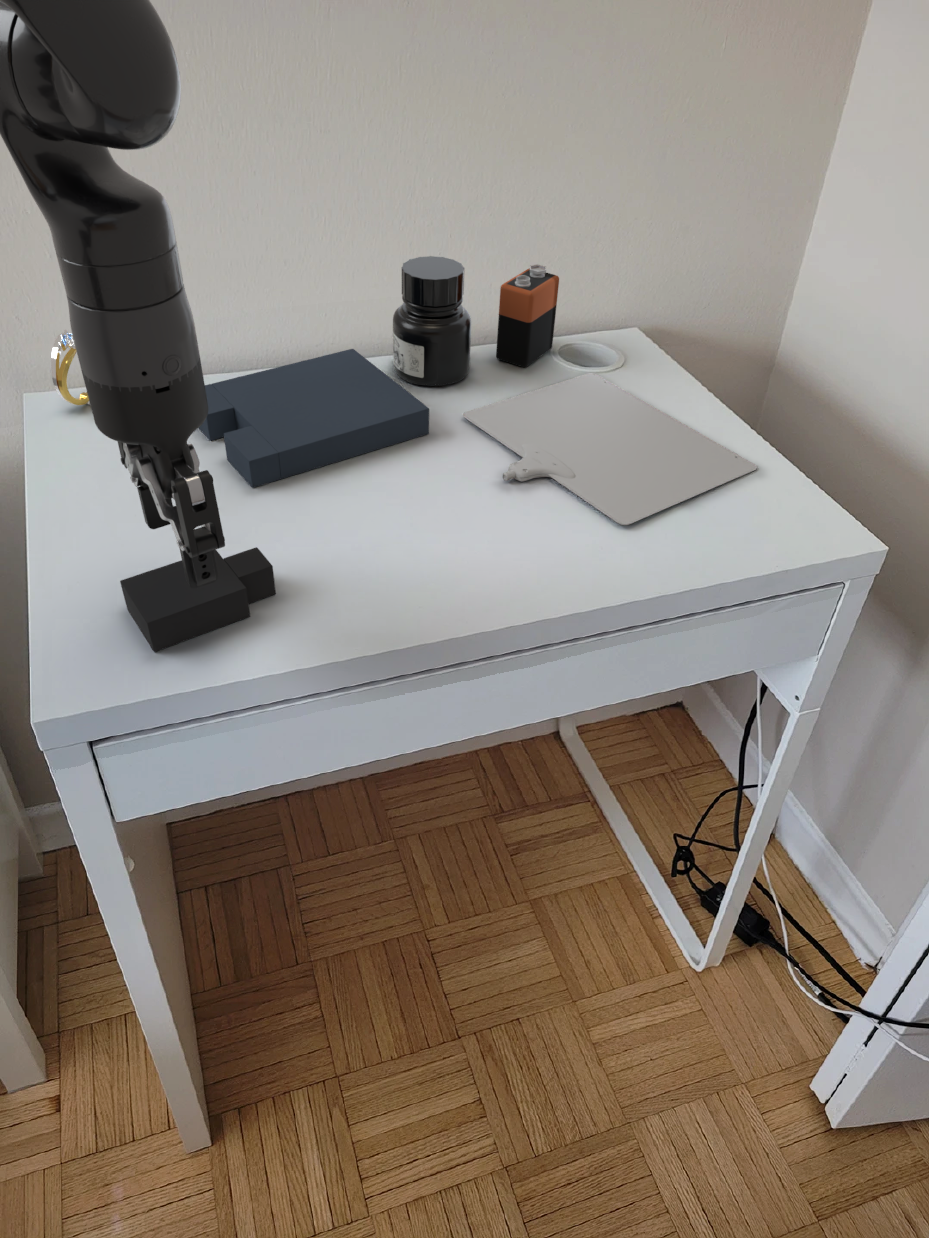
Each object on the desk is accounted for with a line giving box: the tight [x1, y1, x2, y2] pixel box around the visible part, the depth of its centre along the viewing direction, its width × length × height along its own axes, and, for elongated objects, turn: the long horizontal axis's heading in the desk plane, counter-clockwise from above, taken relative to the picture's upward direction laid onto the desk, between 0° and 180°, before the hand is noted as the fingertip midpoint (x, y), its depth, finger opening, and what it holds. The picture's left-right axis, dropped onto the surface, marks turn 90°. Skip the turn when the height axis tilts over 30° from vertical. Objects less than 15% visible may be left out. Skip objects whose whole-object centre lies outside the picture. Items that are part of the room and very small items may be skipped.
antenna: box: [462, 372, 758, 526], centre depth 98 cm, size 25×24×1 cm
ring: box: [50, 329, 90, 406], centre depth 99 cm, size 7×3×8 cm, turn 156°
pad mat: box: [198, 348, 430, 489], centre depth 99 cm, size 20×16×3 cm
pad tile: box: [119, 546, 277, 653], centre depth 76 cm, size 11×6×3 cm, turn 124°
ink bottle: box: [392, 255, 473, 387], centre depth 106 cm, size 10×9×12 cm
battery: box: [495, 263, 560, 368], centre depth 111 cm, size 4×7×10 cm, turn 147°
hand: (181, 552), depth 73 cm, fingers open, 8 cm apart
